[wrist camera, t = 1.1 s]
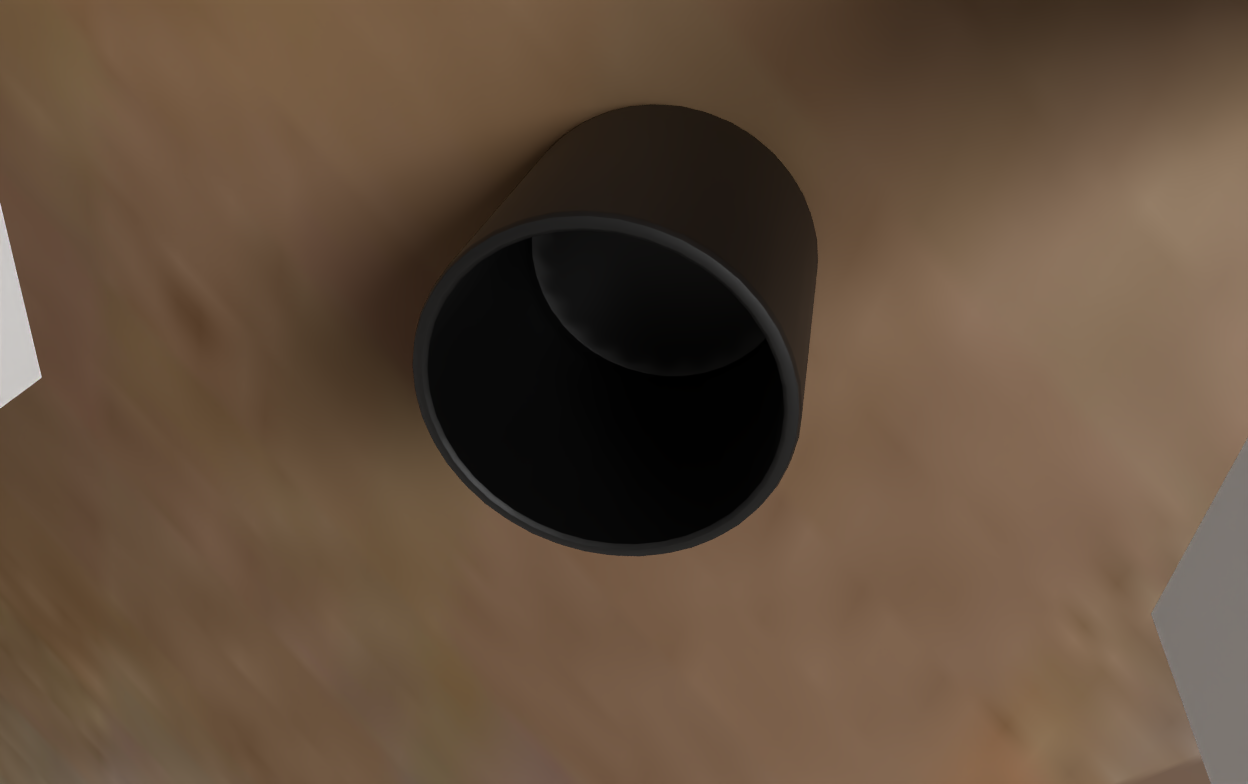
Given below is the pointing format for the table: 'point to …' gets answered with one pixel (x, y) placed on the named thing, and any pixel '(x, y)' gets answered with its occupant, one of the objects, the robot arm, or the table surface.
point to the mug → (627, 336)
